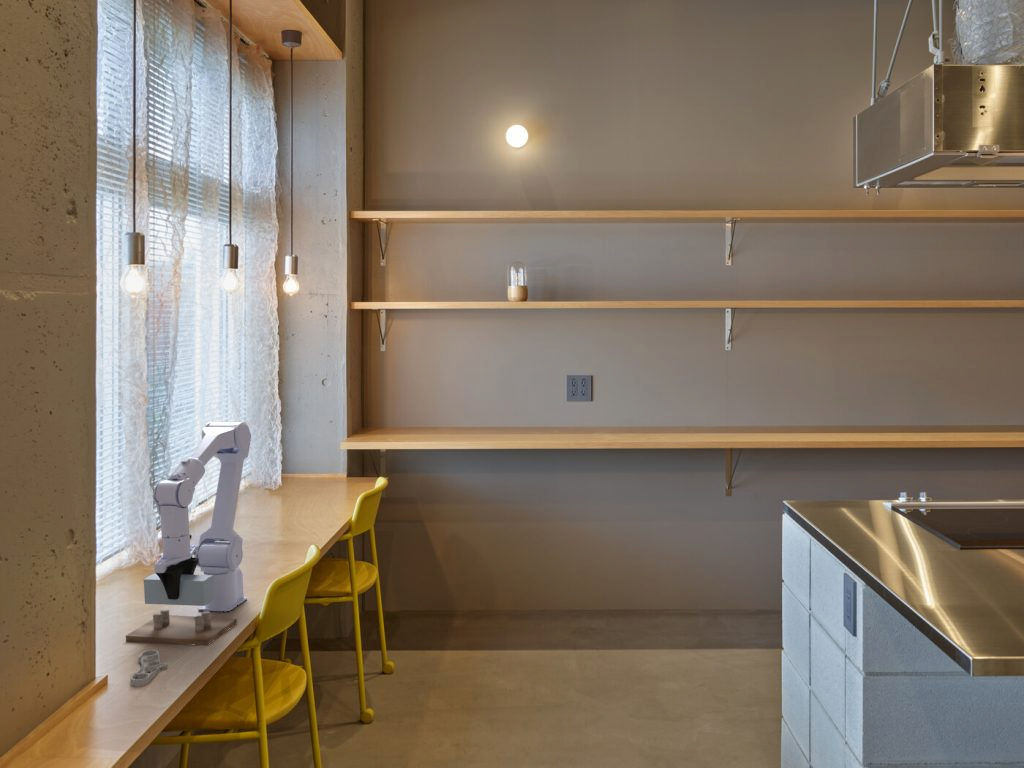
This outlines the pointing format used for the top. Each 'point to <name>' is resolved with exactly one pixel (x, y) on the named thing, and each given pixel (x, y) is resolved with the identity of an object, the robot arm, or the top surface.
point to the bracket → (147, 668)
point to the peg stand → (181, 629)
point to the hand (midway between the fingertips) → (179, 595)
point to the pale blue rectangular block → (180, 590)
